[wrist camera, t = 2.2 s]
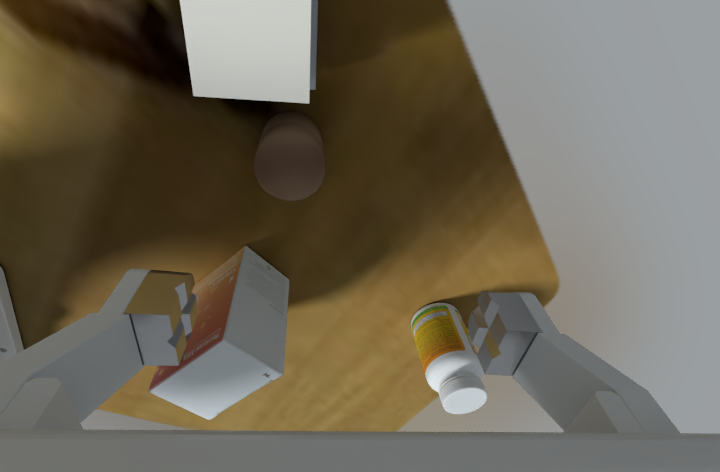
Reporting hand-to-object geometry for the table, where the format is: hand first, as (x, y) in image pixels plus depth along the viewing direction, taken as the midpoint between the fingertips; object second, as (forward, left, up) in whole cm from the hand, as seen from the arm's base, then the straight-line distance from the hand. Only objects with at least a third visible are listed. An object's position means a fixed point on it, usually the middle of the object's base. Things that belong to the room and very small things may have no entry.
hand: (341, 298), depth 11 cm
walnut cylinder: (-3, +2, -20) cm, 20 cm away
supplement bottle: (-22, -13, -20) cm, 32 cm away
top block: (+5, +3, -15) cm, 16 cm away
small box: (-17, +7, -20) cm, 27 cm away
